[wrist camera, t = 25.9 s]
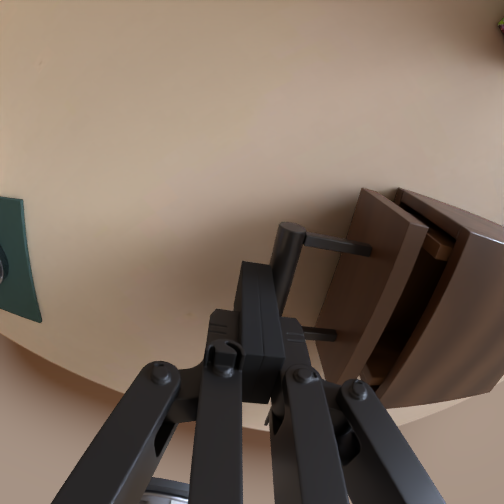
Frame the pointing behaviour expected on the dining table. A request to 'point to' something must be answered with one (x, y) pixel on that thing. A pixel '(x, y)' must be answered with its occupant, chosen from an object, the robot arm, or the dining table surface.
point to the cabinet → (453, 315)
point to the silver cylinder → (3, 265)
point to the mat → (16, 263)
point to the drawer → (367, 285)
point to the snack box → (501, 25)
